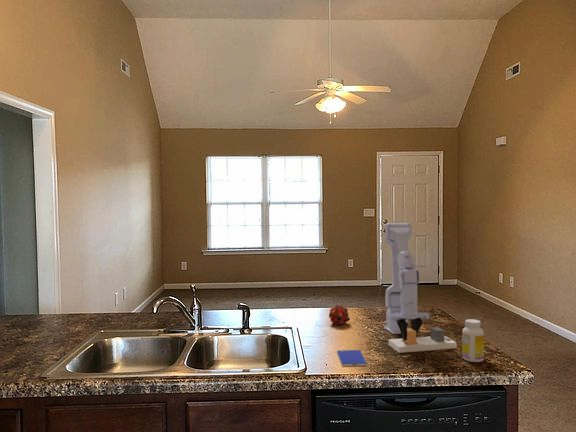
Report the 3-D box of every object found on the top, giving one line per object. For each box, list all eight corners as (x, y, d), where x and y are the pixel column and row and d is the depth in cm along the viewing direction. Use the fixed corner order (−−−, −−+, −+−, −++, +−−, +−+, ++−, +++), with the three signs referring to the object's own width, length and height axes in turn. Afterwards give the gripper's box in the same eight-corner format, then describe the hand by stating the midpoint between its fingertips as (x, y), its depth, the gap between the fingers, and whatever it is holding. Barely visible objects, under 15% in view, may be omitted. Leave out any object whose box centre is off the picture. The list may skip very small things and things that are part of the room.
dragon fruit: (340, 323, 203) (341, 335, 191) (324, 312, 203) (324, 323, 191) (351, 308, 201) (353, 319, 190) (336, 298, 201) (336, 308, 189)
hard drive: (336, 350, 158) (341, 363, 146) (360, 349, 159) (367, 362, 146) (336, 354, 158) (341, 368, 146) (360, 354, 159) (367, 367, 146)
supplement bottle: (485, 357, 152) (485, 319, 151) (482, 364, 146) (482, 324, 146) (464, 354, 155) (464, 317, 155) (460, 360, 149) (460, 322, 149)
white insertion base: (388, 344, 167) (388, 328, 167) (443, 340, 171) (443, 324, 171) (399, 352, 158) (398, 335, 158) (456, 348, 162) (456, 331, 162)
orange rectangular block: (402, 344, 165) (402, 328, 165) (410, 344, 166) (410, 327, 166) (408, 348, 161) (408, 331, 161) (416, 348, 161) (416, 331, 161)
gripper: (394, 305, 158) (395, 344, 158) (433, 303, 160) (433, 341, 161) (386, 301, 165) (386, 338, 165) (423, 299, 167) (423, 335, 168)
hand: (409, 339), depth 163 cm, fingers open, 3 cm apart
